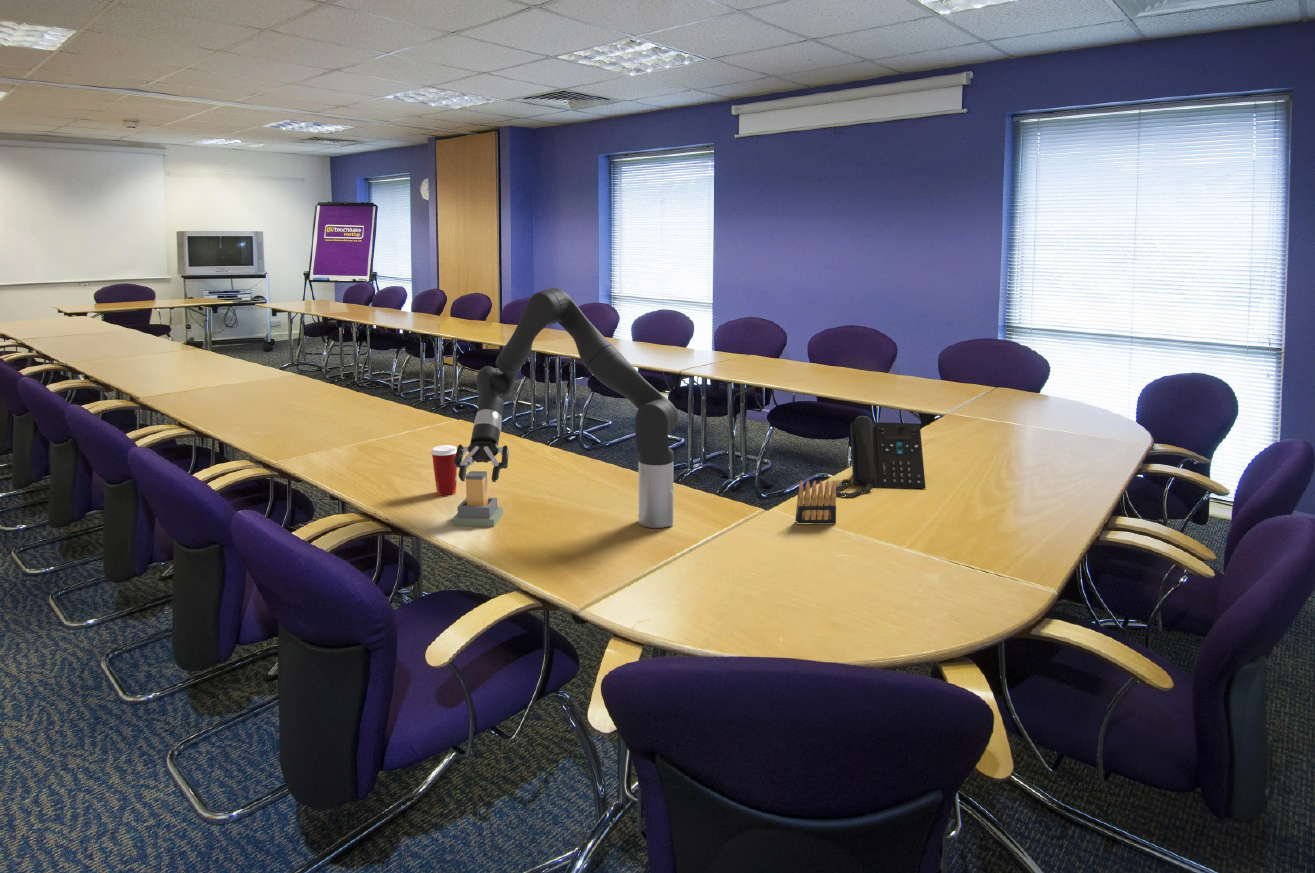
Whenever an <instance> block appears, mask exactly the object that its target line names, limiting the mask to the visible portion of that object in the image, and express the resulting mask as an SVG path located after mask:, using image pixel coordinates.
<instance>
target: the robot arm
mask: <svg viewBox="0 0 1315 873" xmlns="http://www.w3.org/2000/svg"><path fill="white" fill-rule="evenodd" d="M554 324H558V325H559V326H561V327H562V328H563V329H564V330H565V331H566V332H567V334H569V335H570V336H571V338H572V339H573V341H574V343H575V347H576V349H577V353H578V355H579V359H580V361H581V363H582V364H583V365H584V367H585V368H586V369H587V371H588V372H590V373H591V374H592V375H593V376H594V377H595V378H596V379H597V381H599V382H600V383H601V384H603V385H604V386H606V387H607V388H609V389H611V390H612V391H614V392H616V393H618V394H620V395H621V396H623V397H624V398H626V399H628V400H629V401H630V402H631V403H632V404H633V405H634V406H635V407H636V408H637V411H636V413H635V418H634V419H635V420H634V432H635V433H634V434H635V435H634V437H635V450H636V452H637V456H638V515H637V516H638V524H639V525H641V526H642V527H645V528H649V529H650V528H651V529H660V528H667V527H673V524H674V496H675V495H674V491H675V490H674V489H675V488H674V458H675V457H674V456H675V454H674V451H673V449H672V448H670V447H669V433H670V432H671V431H673V430H674V429H675V428H676V427H677V426H678V423H679V412H678V410H677V407H676V406H675V405H674V403H673V402H671V401H670V400H669V399H668V398H667V397H666V396H664V395H663V394H662V393H661V392H660V391H659V390H657V389H656V388H655V387H654V386H653V385H652V384H651V383H649V382H648V381H647V380H646V379H645V378H644V377H643V376H642V375H641V373H640V372H639V371H637V369H636V368H635V367H634V366H633V365H632V364H631V363H630V362H629V361H628V360H627V359H626V357H625V356H623V354H622V353H621V352H620V351H619V350H618V349H617V348H616V347H615V346H614V344H612V343H611V342H610V341H609V340H608V339H607V338H606V337H605V336H604V335H603V334H602V333H601V332H600V330H598V329H597V327H595V325H594V324H593V323H592V322H591V321H590V320H589V319H588V318H587V317H586V315H585V314H584V313H583V311H582V310H581V309H580V308H579V306H578V305H577V304H576V302H575V301H574V300H573V299H572V297H571V296H570V295H569V294H568V293H567V292H566V291H565V290H563V289H561V288H558V287H552V288H548V289H544V290H540V291H537V292H535V293H533V294H532V295H531V297H530V298H529V300H528V302H527V304H526V306H525V307H524V310H523V313H522V314H521V317H520V319H519V322H518V323H517V326H516V327H515V329H514V332H513V333H512V335H511V337H510V338H509V340H508V341H507V343H506V344H505V346H504V347H503V349H501V351H500V353H499V354H498V355H497V357H496V360H495V365H496V367H497V368H495V367H493V366H489V365H486V366H484V367H483V366H482V368H480V370H479V371H478V372H477V373H478V374H477V376H476V387H477V396H478V406H477V412H476V416H475V418H474V421H473V427H472V433H471V437H470V442H469V445H468V446H463V444H458V445H457V447H456V450H457V452H456V455H455V459H454V463H455V465H456V467H457V469H458V468H459V471H458V478H459V480H460V481H461V482H466V475H467V470H468V467H469V466H472V465H474V463H475V462H476V463H486V464H488V463H491V464H492V466H493V468H492V472H491V481H492V483H496V482H497V481H498V480H499V477H500V471H501V470H502V469H508V465H509V454H510V453H509V452H510V451H509V448H508V446H507V445H503V446H501V447H499V441H500V436H501V432H502V418H503V413H504V405H505V403H504V400H503V398H502V397H506V396H508V395H510V394H511V393H512V390H513V388H514V384H515V381H516V377H517V375H518V373H519V371H520V370H521V368H522V366H524V364H525V363H526V361H527V360H528V358H529V357H530V355H531V352H532V348H533V342H534V341H535V338H536V337H537V336H538V335H539V333H540V332H542V330H544V328H546V327H547V326H551V325H554ZM466 453H468V454H467V455H466ZM499 453H500V455H501V461H500V462H499V461H498V460H497V459H496V456H497V455H498V454H499ZM464 457H465V458H464ZM463 458H464V459H463Z"/></svg>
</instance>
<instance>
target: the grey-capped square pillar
mask: <svg viewBox="0 0 1315 873" xmlns="http://www.w3.org/2000/svg"><path fill="white" fill-rule="evenodd" d="M465 491H466V497H467V506H487V505H488V498H489V493H488V491H489V490H488V472H487V471H482V470H480V471H479V470H470V471H469V472H468V473H466V476H465Z"/></svg>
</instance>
